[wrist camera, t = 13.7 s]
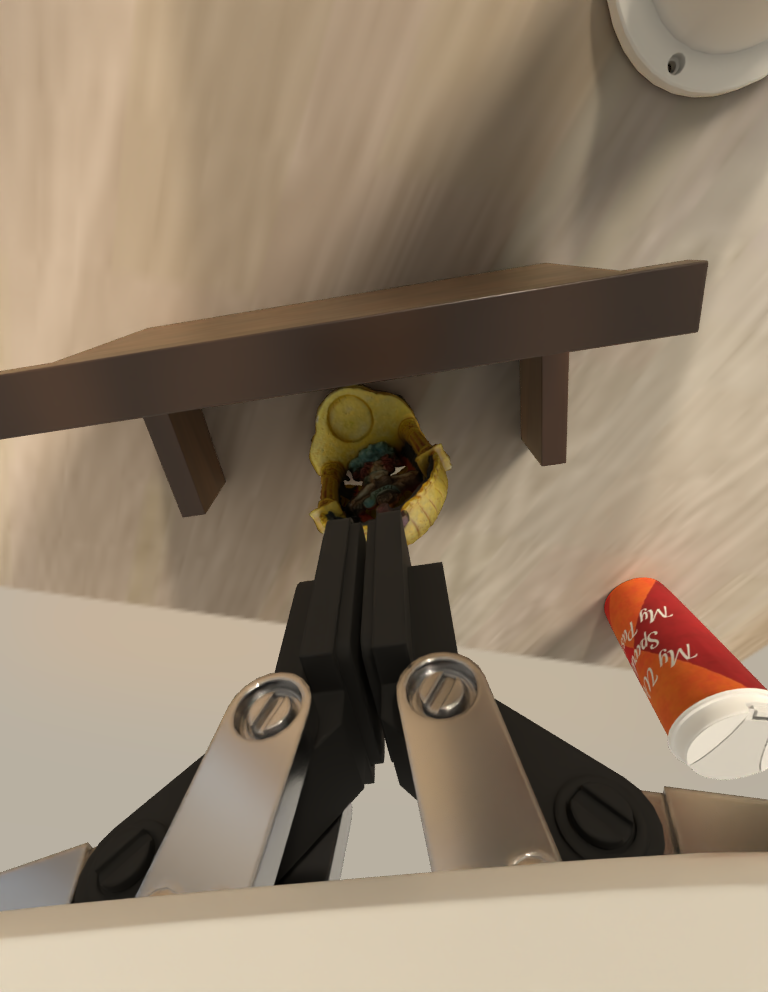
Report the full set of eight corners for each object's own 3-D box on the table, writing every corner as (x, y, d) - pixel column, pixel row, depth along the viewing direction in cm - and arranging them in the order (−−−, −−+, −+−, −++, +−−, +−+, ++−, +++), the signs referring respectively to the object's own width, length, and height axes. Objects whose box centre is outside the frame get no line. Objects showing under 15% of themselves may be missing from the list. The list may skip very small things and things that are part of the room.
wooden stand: (559, 253, 30) (709, 260, 16) (556, 434, 35) (667, 550, 22) (132, 323, 31) (-51, 382, 18) (192, 486, 37) (88, 625, 23)
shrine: (430, 541, 36) (496, 537, 21) (321, 557, 35) (308, 565, 20) (407, 391, 37) (454, 286, 22) (300, 404, 36) (273, 303, 21)
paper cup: (610, 562, 41) (712, 700, 28) (694, 572, 41) (831, 712, 29) (579, 631, 44) (658, 781, 32) (657, 640, 45) (765, 790, 33)
